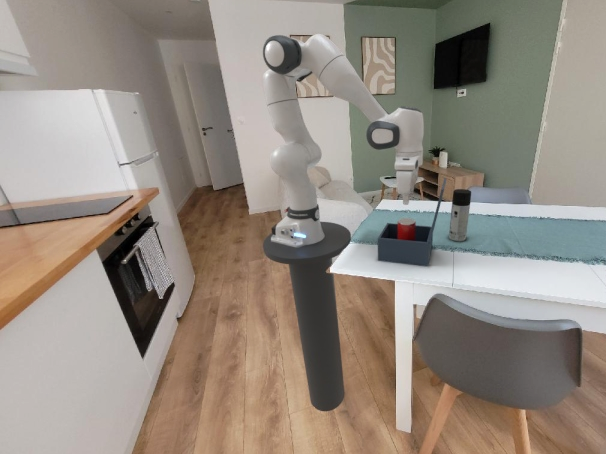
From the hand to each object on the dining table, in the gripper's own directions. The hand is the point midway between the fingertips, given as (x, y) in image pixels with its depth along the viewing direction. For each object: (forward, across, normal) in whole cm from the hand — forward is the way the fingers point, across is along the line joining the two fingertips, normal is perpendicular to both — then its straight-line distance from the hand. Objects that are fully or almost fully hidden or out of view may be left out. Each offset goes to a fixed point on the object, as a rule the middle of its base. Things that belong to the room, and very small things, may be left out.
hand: (408, 199), depth 101 cm
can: (+20, +1, 0) cm, 20 cm away
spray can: (+21, -17, +18) cm, 32 cm away
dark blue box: (+21, +1, 0) cm, 21 cm away
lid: (+2, +1, +10) cm, 10 cm away
